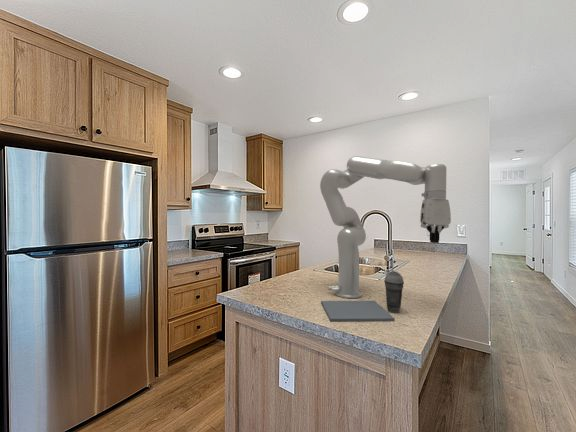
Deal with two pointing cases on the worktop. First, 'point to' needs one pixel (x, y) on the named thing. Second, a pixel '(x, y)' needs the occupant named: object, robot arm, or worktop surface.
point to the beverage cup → (393, 290)
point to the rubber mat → (355, 311)
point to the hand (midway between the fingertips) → (434, 242)
